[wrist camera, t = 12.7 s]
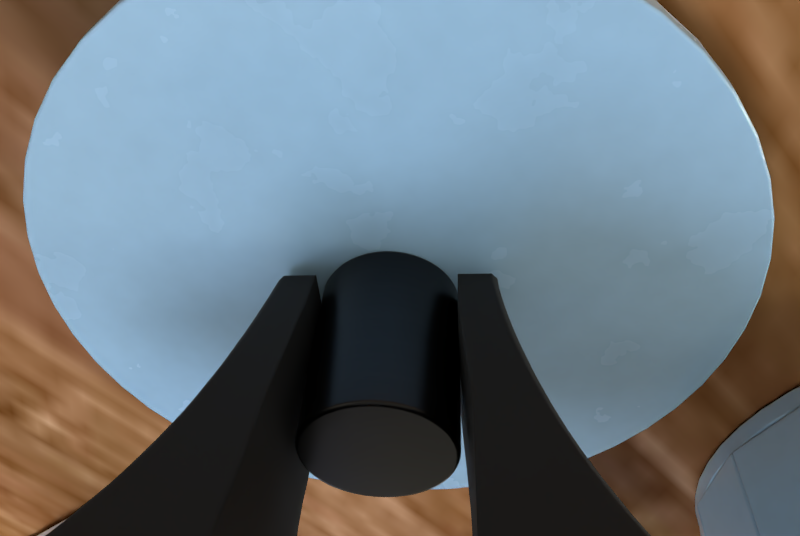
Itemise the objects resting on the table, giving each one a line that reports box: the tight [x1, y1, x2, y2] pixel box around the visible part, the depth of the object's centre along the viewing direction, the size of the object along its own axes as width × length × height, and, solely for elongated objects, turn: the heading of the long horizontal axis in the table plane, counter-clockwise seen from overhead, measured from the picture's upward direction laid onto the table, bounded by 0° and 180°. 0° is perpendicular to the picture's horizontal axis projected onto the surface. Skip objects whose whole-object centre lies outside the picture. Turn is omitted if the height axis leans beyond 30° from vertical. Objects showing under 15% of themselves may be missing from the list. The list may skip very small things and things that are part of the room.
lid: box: [23, 0, 775, 497], centre depth 13 cm, size 14×14×4 cm
